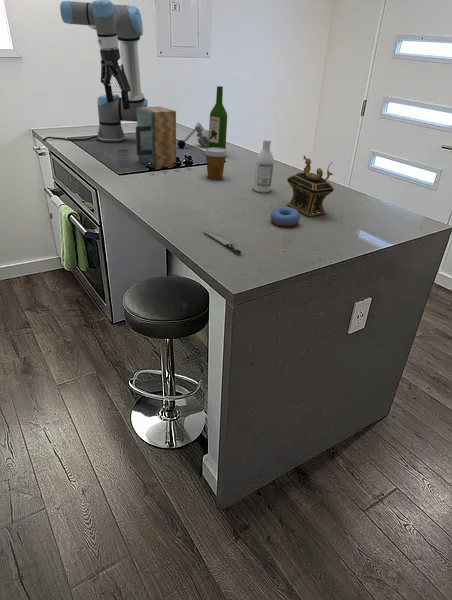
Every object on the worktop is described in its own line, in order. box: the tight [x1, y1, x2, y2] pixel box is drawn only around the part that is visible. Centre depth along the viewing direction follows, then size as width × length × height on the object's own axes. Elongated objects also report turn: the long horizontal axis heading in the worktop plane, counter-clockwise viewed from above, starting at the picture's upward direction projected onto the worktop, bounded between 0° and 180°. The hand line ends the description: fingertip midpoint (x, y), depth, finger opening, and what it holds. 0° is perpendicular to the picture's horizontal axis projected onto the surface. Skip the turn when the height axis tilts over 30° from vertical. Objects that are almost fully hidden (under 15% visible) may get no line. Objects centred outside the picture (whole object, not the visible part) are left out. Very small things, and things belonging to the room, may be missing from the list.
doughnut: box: [270, 206, 301, 227], centre depth 147 cm, size 10×10×5 cm
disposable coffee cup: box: [204, 147, 228, 181], centre depth 187 cm, size 10×10×12 cm
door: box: [135, 108, 156, 169], centre depth 194 cm, size 7×14×24 cm, turn 37°
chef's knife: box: [204, 231, 242, 255], centre depth 131 cm, size 19×1×3 cm
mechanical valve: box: [177, 122, 209, 149], centre depth 239 cm, size 10×18×15 cm
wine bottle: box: [208, 85, 228, 150], centre depth 218 cm, size 9×9×32 cm
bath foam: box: [253, 138, 274, 194], centre depth 173 cm, size 7×7×20 cm
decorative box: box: [286, 155, 335, 217], centre depth 155 cm, size 20×10×20 cm, turn 28°
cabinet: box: [139, 105, 177, 169], centre depth 199 cm, size 11×14×24 cm
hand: (118, 105), depth 183 cm, fingers open, 13 cm apart
